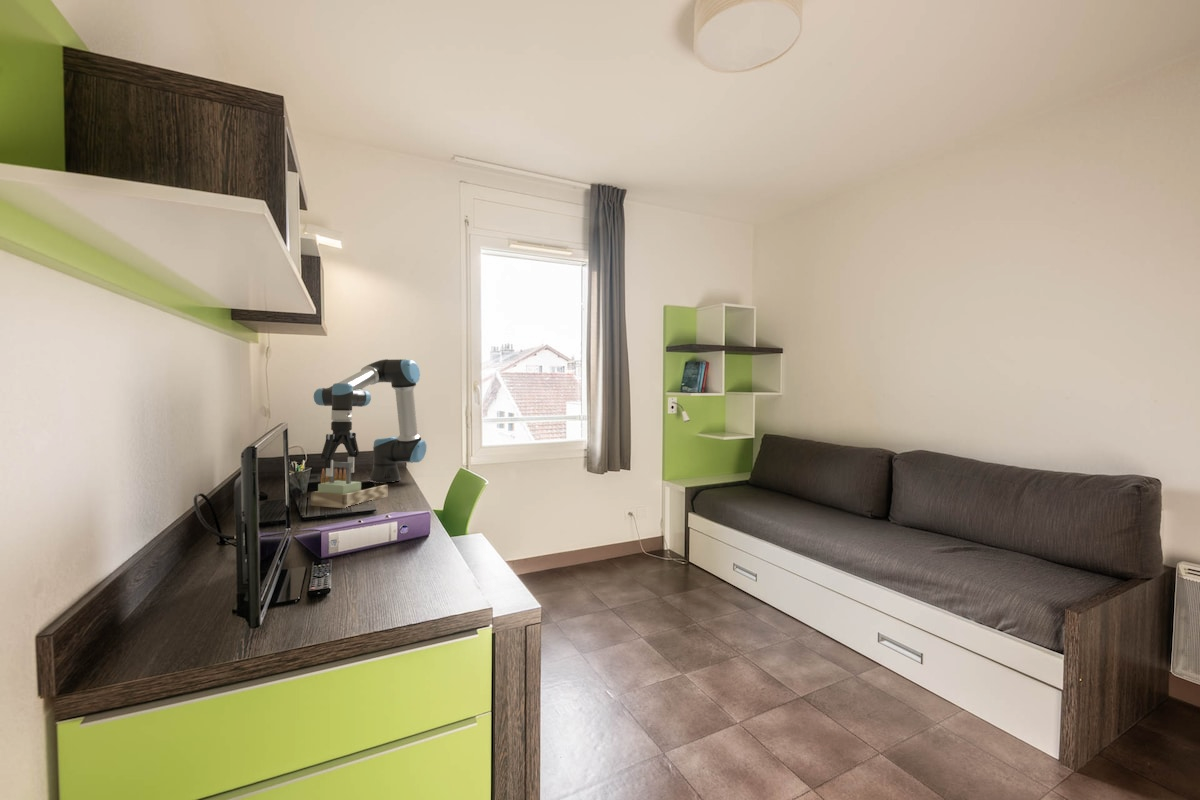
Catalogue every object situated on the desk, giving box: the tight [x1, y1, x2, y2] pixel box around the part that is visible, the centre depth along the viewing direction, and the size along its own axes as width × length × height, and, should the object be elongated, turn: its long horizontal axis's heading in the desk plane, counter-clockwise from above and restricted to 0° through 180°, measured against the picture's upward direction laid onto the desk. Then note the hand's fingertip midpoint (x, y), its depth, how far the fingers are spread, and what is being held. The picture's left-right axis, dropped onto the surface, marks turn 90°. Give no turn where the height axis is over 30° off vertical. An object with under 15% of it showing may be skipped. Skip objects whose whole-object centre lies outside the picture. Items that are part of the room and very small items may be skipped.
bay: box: [310, 484, 389, 509], centre depth 208 cm, size 26×16×5 cm, turn 166°
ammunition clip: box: [320, 467, 346, 484], centre depth 221 cm, size 11×2×12 cm, turn 103°
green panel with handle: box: [317, 460, 362, 494], centre depth 202 cm, size 10×12×16 cm
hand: (340, 474), depth 202 cm, fingers open, 11 cm apart
